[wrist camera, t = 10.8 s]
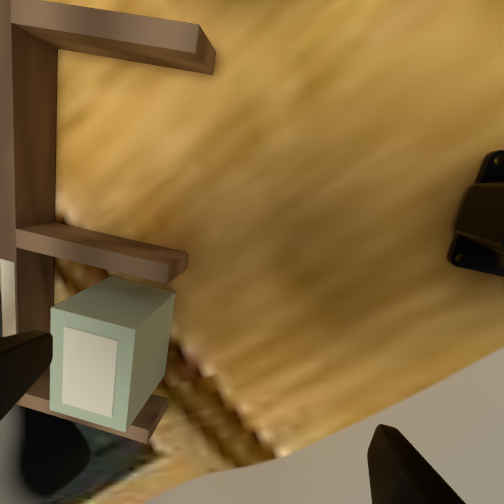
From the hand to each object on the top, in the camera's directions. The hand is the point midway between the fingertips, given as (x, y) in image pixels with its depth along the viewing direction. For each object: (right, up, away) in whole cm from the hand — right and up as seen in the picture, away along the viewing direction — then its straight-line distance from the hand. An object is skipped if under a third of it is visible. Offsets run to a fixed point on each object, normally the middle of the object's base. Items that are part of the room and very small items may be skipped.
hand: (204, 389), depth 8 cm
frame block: (-7, -2, +14) cm, 16 cm away
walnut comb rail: (-8, +4, +13) cm, 16 cm away
